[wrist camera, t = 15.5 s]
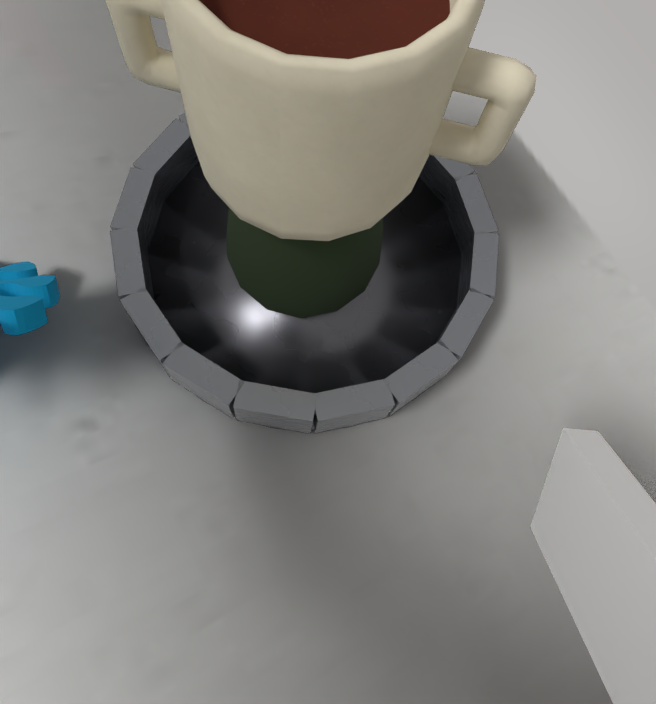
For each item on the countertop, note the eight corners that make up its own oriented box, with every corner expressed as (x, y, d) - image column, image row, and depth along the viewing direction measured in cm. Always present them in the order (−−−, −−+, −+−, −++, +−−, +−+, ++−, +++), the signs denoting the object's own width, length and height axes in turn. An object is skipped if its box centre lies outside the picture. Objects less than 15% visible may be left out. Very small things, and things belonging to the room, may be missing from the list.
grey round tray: (62, 214, 24) (41, 182, 22) (344, 73, 28) (349, 34, 26) (257, 510, 21) (254, 505, 19) (549, 302, 24) (574, 278, 22)
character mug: (442, 217, 25) (594, -106, 13) (413, 364, 23) (567, 137, 10) (204, 157, 25) (131, -218, 13) (149, 297, 23) (-5, -4, 11)
